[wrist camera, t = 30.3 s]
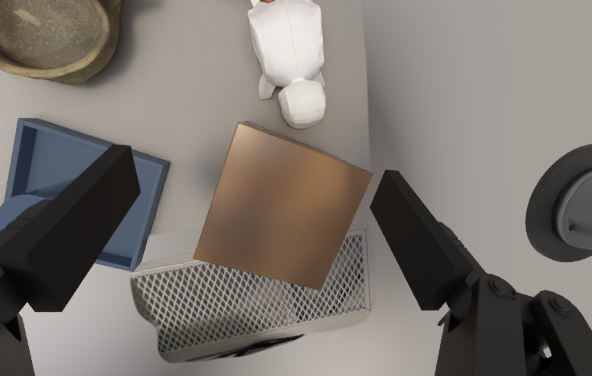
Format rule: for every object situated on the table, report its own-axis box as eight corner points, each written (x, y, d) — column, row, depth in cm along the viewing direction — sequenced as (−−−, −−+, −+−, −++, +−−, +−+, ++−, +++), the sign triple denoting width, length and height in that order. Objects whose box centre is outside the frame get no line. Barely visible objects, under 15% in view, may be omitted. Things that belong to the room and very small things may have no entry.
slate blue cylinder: (122, 183, 33) (75, 206, 24) (111, 225, 34) (62, 260, 26) (69, 168, 32) (0, 186, 23) (60, 212, 33) (-10, 244, 24)
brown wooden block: (327, 153, 37) (373, 173, 22) (296, 228, 39) (320, 291, 24) (245, 121, 34) (237, 121, 20) (217, 203, 36) (192, 259, 22)
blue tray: (170, 162, 34) (163, 165, 31) (141, 262, 36) (133, 272, 34) (36, 118, 30) (17, 117, 28) (15, 232, 33) (-3, 241, 31)
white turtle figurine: (245, 38, 34) (271, 146, 33) (234, -21, 26) (268, 121, 24) (308, 27, 35) (335, 132, 33) (317, -34, 26) (355, 103, 25)
